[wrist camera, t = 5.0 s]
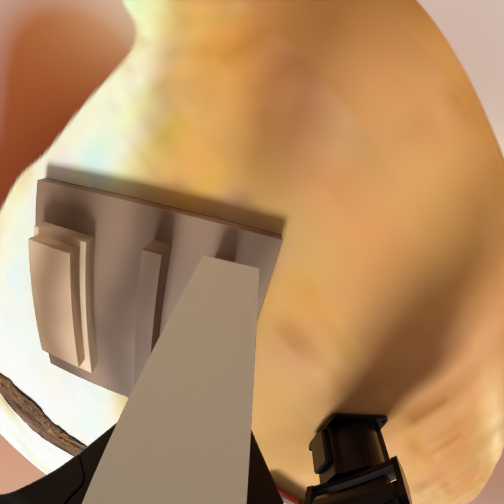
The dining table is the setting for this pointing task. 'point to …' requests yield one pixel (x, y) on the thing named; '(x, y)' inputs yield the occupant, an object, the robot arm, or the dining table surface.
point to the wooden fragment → (37, 418)
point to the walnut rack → (143, 268)
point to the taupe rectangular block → (190, 401)
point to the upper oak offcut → (57, 297)
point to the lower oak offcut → (86, 283)
